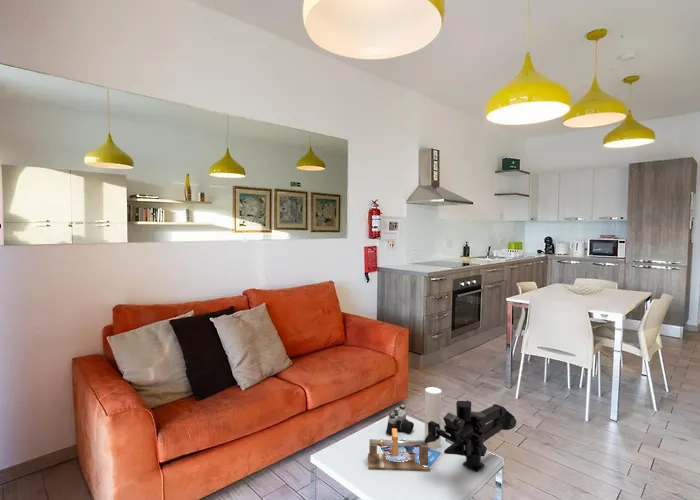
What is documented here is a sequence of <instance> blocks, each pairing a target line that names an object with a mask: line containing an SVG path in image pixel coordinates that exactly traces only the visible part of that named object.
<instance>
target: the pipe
mask: <svg viewBox="0 0 700 500" xmlns="http://www.w3.org/2000/svg"><path fill="white" fill-rule="evenodd" d="M370 444H377V447H378V446H379V447H392V446H393V440H392V439H384V438H383V439H377V440H370ZM420 445H427V446H428V443H425V440H405V439H404V440H399V439H398V447H409V448H410V447H411V448H412V447H417V448H419V447H420Z"/></svg>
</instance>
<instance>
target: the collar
mask: <svg viewBox="0 0 700 500" xmlns="http://www.w3.org/2000/svg"><path fill="white" fill-rule="evenodd" d="M391 440H393V446H391V452H392V453H391V454H393V456H398V454H399V446H398V440H399V435H398V431H397V428H392V436H391Z"/></svg>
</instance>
